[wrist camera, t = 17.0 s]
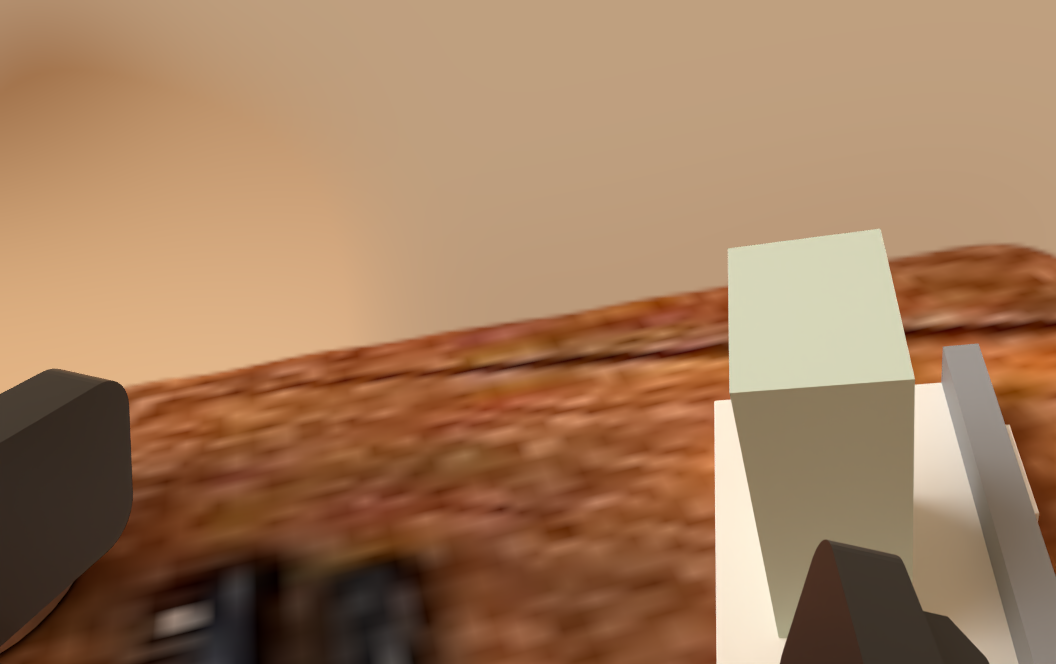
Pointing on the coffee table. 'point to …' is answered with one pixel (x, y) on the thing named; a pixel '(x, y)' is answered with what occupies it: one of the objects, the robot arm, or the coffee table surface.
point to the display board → (918, 529)
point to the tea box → (821, 402)
